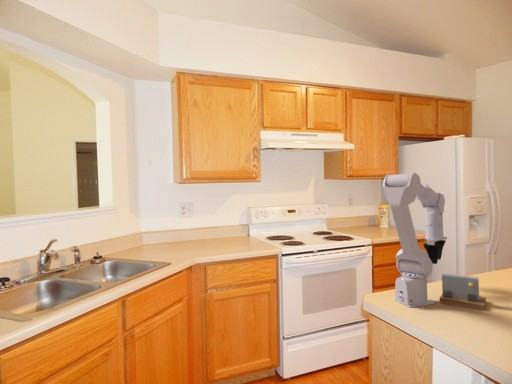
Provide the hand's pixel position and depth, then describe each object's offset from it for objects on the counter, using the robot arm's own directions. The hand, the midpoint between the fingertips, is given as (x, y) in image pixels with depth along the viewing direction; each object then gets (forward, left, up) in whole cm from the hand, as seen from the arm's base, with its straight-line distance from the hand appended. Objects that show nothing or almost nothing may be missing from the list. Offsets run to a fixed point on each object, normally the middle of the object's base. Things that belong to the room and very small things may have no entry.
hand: (435, 261), depth 118 cm
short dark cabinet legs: (-3, -13, -9) cm, 16 cm away
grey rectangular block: (-3, -13, -9) cm, 16 cm away
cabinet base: (-3, -13, -11) cm, 17 cm away
